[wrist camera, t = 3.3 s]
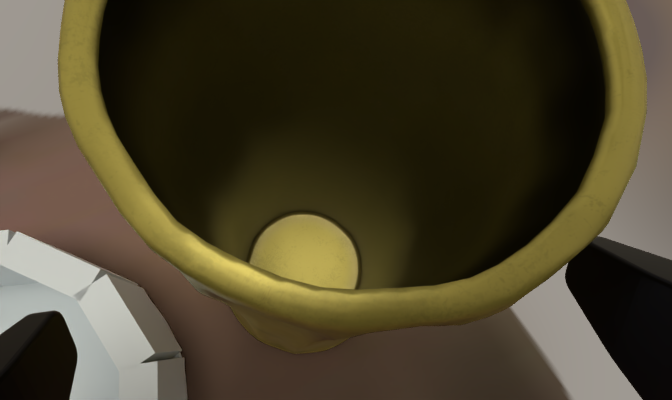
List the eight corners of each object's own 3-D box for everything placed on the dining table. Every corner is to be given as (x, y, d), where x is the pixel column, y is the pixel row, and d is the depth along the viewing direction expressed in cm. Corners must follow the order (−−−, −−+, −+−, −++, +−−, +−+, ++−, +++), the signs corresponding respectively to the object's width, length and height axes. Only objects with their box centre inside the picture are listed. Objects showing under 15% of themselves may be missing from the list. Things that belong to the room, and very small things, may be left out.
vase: (222, 357, 16) (-112, 442, 2) (226, 198, 18) (48, -247, 4) (386, 348, 17) (809, 374, 3) (373, 196, 19) (611, -191, 5)
